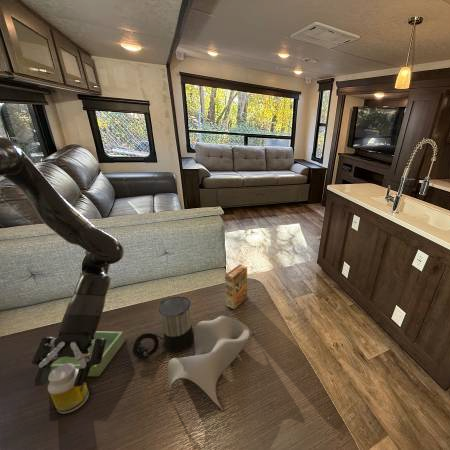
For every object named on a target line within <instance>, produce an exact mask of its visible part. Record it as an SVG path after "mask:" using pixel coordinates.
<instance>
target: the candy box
mask: <svg viewBox="0 0 450 450" xmlns="http://www.w3.org/2000/svg"><path fill="white" fill-rule="evenodd" d="M224 278H225V279H224V280H225V282H224V283H225V299H226V300H225V302H226V307H228V308H230V309H233V310H235V309H236V308H237V307H238V306H240V305H241V304H242V303H243V302H244V301H245V300H246V299H248V267H247V266H246V265H242V264H238V265H237V266H235V267H234V268H232V269H231V270H230V271H228V272H226V273H225V274H224Z"/></svg>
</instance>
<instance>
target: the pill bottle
mask: <svg viewBox="0 0 450 450" xmlns="http://www.w3.org/2000/svg"><path fill="white" fill-rule="evenodd" d="M78 371H79V369H76V368H75V366H74V365H73V364H71V363H67V364H63V365H61V366H59V367H57V368H55V369H54V370H53V371H52V372H51V373H50V374H49V376H48V379H47V380H48V382H49V383H48V385H47V391H48V394H49V396H50V399H51V400H52V402H53V404H54V407H55V408H56V409H55V410H56V411H57V412H58V413H60V414H69V413H72V412H74V411H76V410H78V409H79V408H81V407H82V406H83V405H84V404H85V403H86V401H87V400H88V398H89V396H90V393H89V392H90V391H89V389H88V386H87V383H86V382H85V383H83V385H81V386H78V387H75V386H74V383H75V380H76V377H77V374H78Z"/></svg>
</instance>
